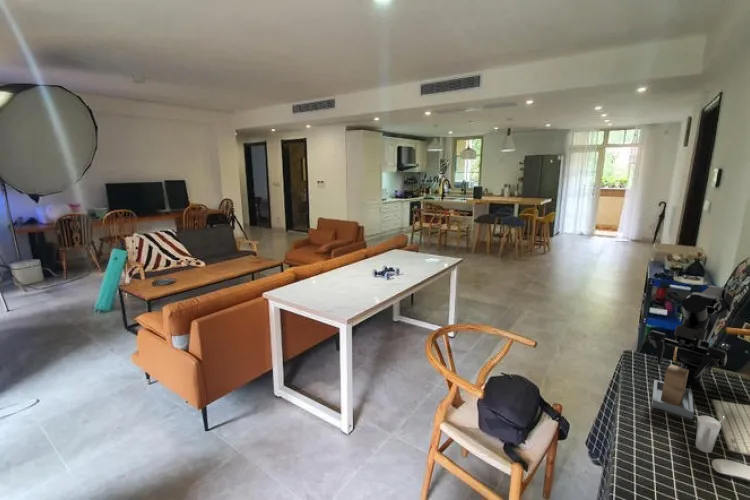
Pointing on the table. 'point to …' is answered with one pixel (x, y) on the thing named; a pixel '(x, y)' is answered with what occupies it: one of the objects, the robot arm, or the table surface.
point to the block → (674, 385)
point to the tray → (682, 410)
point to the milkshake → (707, 433)
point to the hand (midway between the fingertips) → (676, 370)
